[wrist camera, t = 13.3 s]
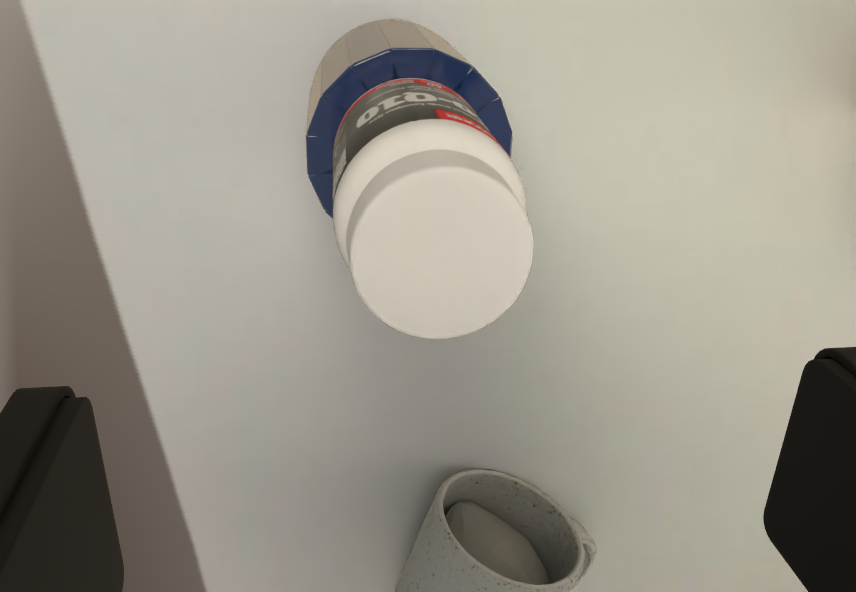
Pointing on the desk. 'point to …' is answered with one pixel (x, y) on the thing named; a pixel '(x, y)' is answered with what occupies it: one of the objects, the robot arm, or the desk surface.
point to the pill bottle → (428, 211)
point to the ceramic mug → (496, 540)
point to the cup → (381, 62)
